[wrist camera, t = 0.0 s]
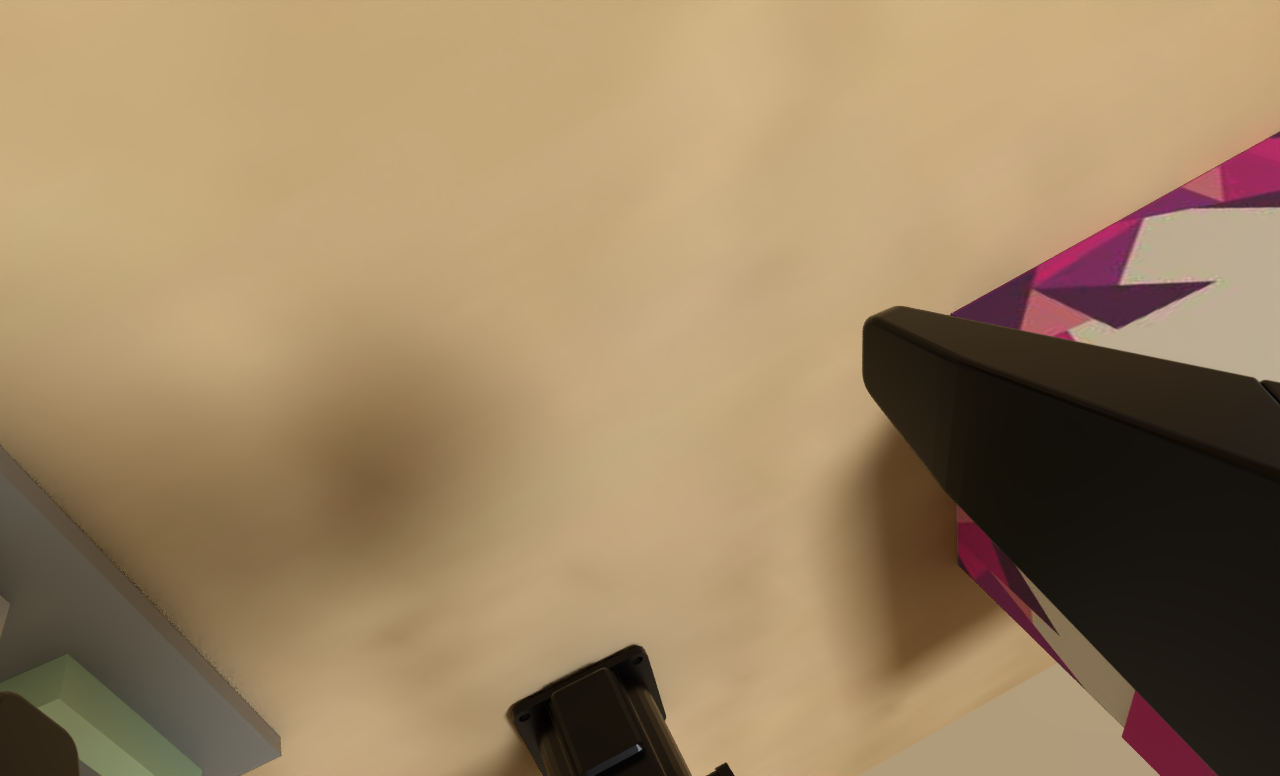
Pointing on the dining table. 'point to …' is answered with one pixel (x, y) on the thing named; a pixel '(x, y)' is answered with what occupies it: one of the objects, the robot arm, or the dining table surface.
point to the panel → (109, 655)
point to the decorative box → (1154, 326)
